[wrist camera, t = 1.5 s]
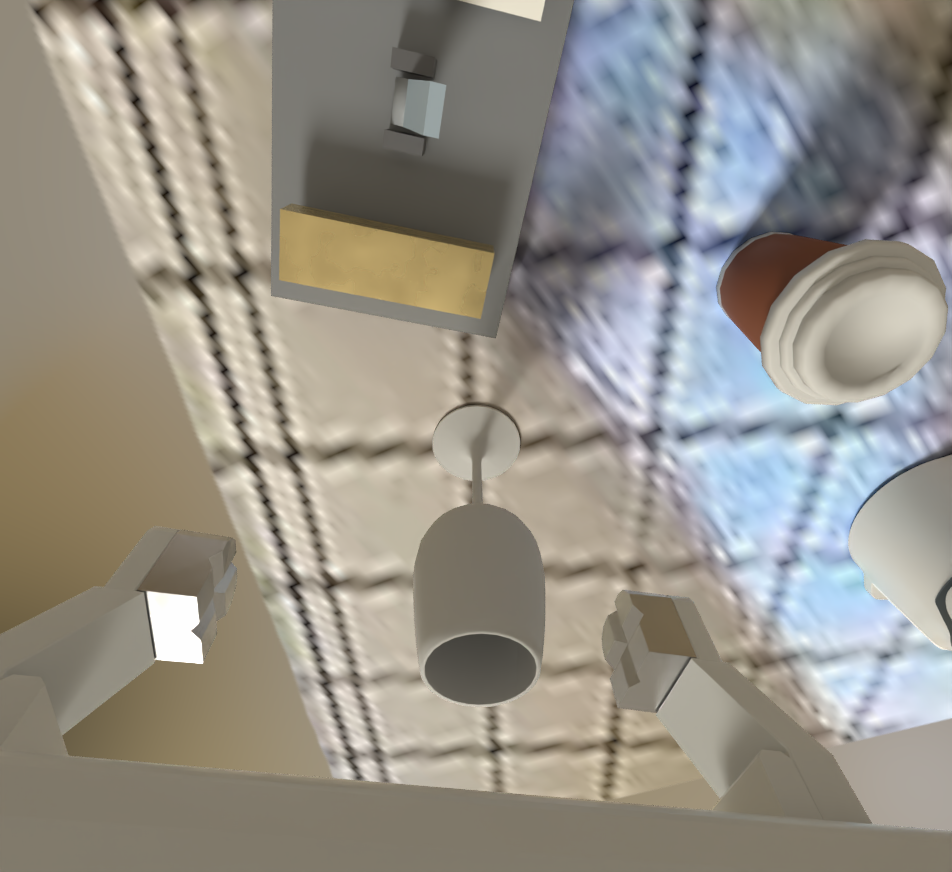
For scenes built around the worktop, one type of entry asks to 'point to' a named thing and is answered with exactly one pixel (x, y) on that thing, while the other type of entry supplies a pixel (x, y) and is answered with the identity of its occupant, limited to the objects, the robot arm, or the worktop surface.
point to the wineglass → (478, 575)
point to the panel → (402, 150)
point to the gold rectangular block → (383, 261)
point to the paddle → (418, 106)
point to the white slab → (514, 7)
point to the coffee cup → (835, 313)
